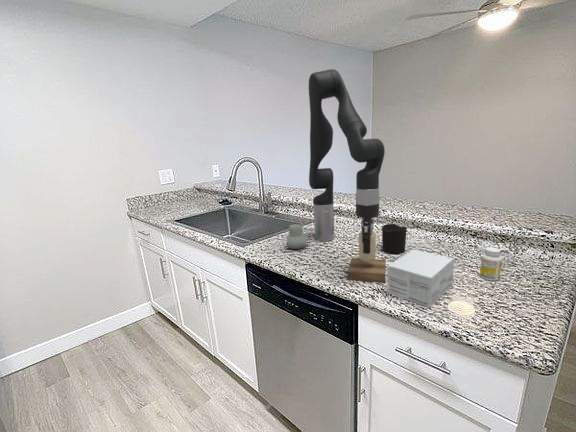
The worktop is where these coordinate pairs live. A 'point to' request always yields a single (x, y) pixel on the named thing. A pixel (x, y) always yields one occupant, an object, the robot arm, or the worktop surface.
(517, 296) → the worktop surface
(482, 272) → the supplement bottle
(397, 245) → the pen holder
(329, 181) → the robot arm
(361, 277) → the walnut pedestal
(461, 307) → the worktop surface
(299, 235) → the air freshener
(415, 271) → the supplement box
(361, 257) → the candle
